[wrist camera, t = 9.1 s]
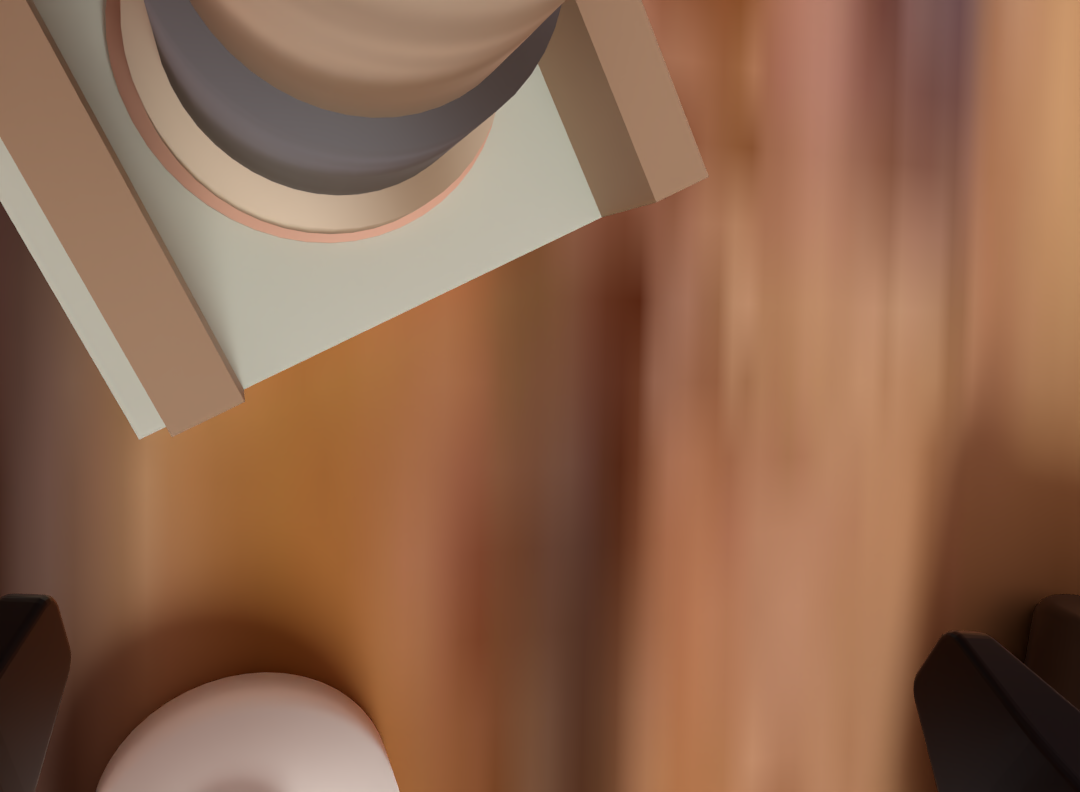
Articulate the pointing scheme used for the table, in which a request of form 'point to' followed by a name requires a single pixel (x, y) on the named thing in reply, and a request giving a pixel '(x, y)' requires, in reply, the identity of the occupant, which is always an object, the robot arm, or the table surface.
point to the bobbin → (330, 97)
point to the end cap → (1057, 645)
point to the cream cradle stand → (288, 255)
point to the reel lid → (253, 741)
